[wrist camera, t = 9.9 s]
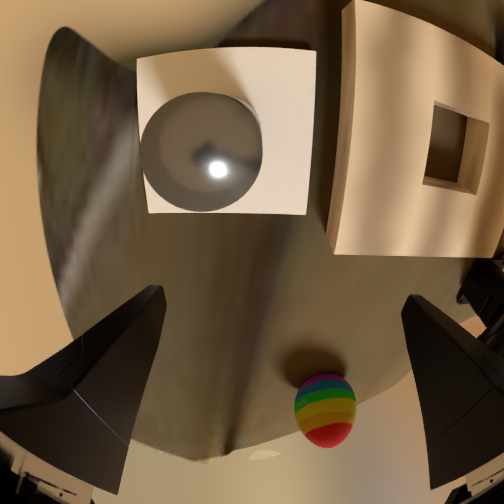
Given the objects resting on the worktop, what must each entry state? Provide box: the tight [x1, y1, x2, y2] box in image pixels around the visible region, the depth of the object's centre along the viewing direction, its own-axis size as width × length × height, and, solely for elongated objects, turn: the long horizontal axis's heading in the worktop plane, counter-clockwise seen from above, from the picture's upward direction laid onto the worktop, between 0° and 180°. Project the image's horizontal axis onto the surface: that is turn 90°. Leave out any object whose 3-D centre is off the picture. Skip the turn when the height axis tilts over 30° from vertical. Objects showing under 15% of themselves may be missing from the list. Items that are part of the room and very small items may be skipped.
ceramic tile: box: [137, 47, 316, 215], centre depth 17 cm, size 12×12×1 cm
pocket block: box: [326, 0, 504, 258], centre depth 15 cm, size 18×18×3 cm
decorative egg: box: [294, 374, 356, 448], centre depth 30 cm, size 8×8×10 cm
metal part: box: [140, 92, 263, 212], centre depth 13 cm, size 5×5×8 cm
